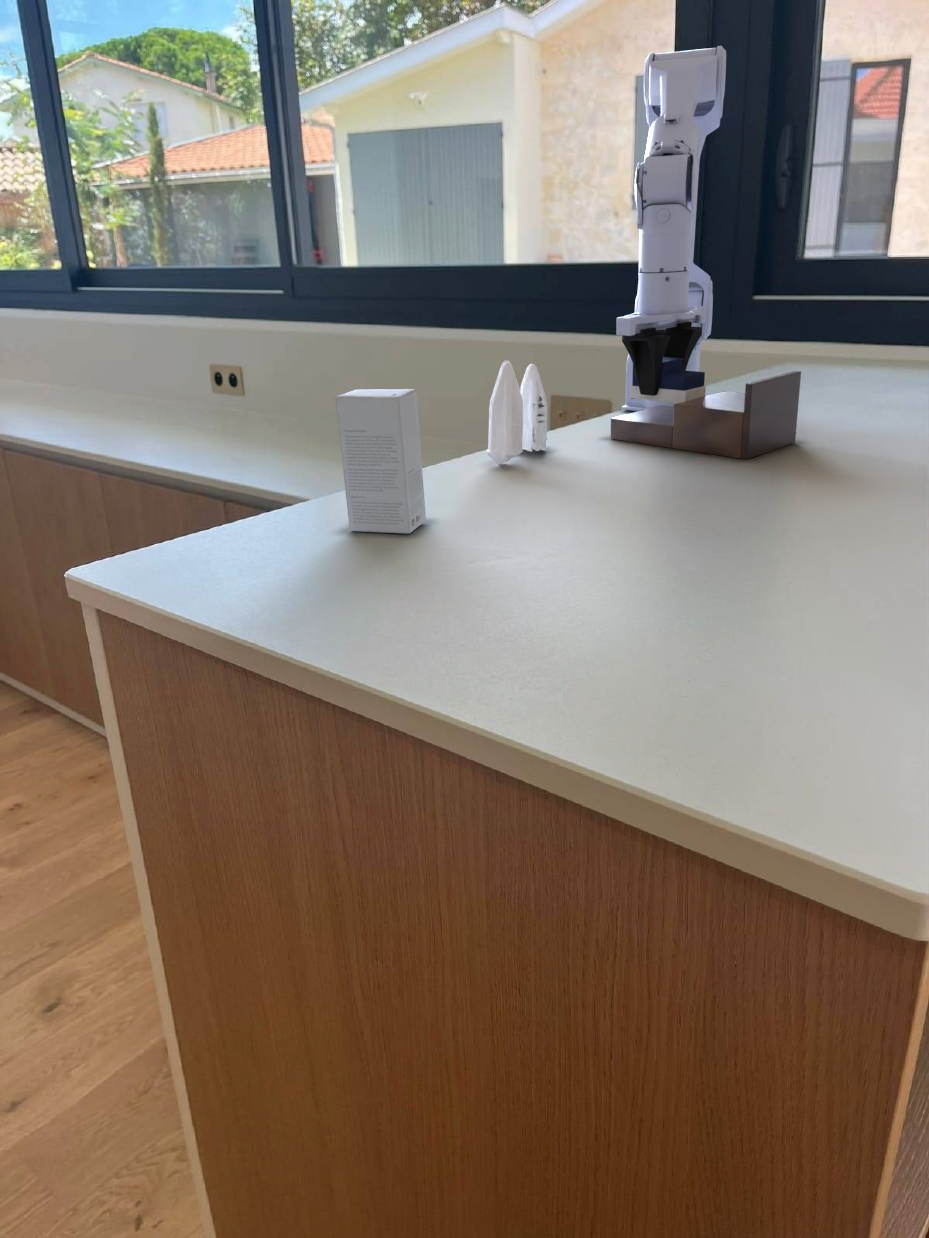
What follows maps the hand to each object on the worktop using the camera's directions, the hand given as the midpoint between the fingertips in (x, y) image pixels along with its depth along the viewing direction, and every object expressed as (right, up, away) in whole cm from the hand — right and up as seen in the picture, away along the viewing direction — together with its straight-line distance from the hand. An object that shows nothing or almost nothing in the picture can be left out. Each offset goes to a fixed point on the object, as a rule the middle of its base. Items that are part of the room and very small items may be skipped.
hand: (660, 392), depth 113 cm
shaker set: (-17, -9, -6) cm, 21 cm away
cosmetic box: (-30, -19, -28) cm, 45 cm away
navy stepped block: (+1, -1, 0) cm, 1 cm away
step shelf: (+4, -6, -2) cm, 8 cm away
